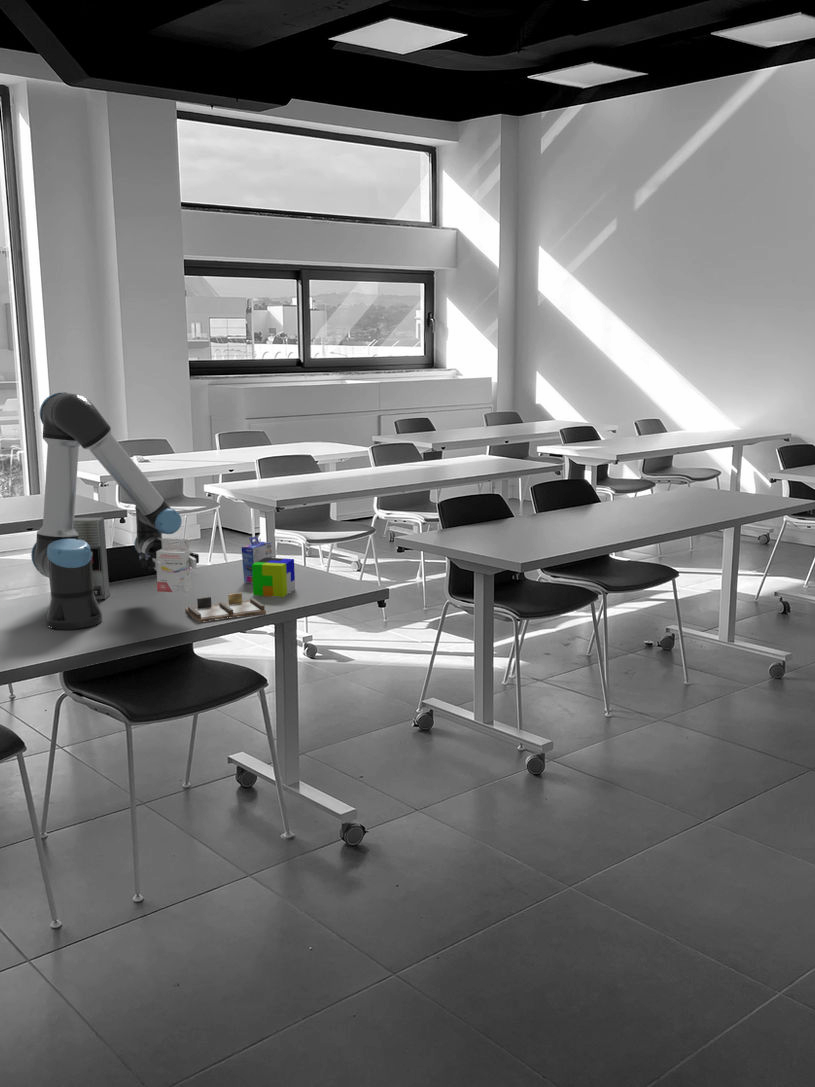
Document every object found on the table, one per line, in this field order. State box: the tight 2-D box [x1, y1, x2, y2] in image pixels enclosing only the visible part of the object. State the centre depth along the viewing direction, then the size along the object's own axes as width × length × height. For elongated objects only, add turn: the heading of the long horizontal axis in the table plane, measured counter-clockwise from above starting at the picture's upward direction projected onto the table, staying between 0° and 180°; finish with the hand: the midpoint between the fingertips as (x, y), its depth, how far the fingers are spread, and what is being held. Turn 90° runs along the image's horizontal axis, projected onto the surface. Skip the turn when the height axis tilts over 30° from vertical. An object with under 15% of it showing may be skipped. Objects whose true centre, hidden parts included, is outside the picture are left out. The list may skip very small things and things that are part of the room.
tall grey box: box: [74, 517, 111, 600], centre depth 327 cm, size 14×6×25 cm, turn 90°
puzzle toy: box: [252, 557, 296, 598], centre depth 333 cm, size 10×10×10 cm
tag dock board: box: [184, 592, 267, 623], centre depth 310 cm, size 20×14×4 cm
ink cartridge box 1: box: [156, 537, 191, 594], centre depth 301 cm, size 9×5×15 cm, turn 84°
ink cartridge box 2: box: [241, 536, 274, 585], centre depth 348 cm, size 10×6×14 cm, turn 148°
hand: (177, 565), depth 297 cm, fingers closed on ink cartridge box 1, 9 cm apart
